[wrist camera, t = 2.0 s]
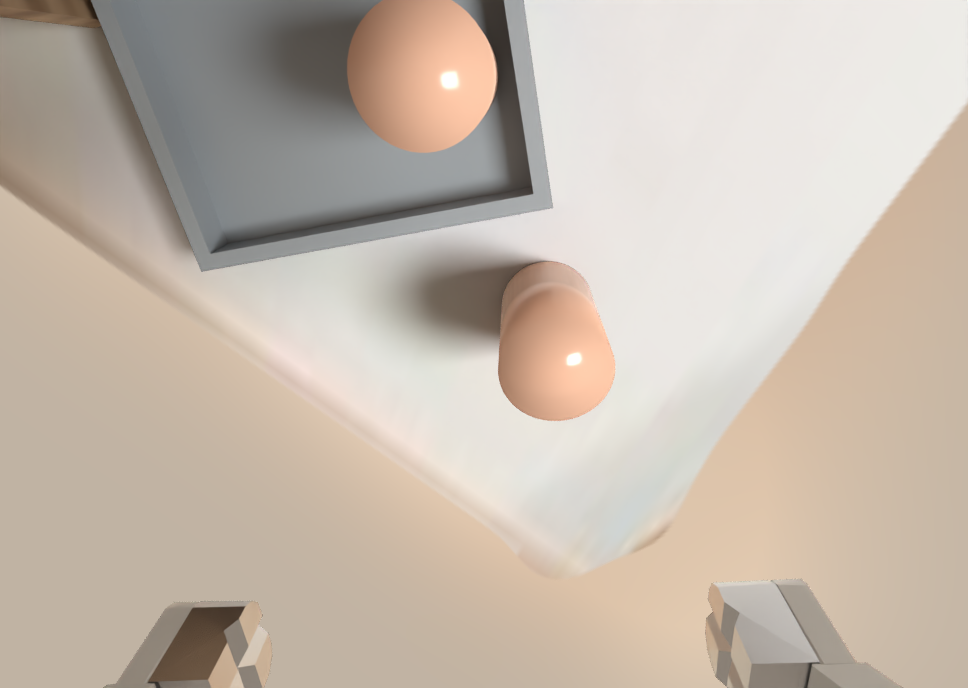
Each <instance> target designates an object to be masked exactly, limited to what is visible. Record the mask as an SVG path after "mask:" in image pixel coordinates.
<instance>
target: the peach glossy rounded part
mask: <svg viewBox="0 0 968 688" xmlns="http://www.w3.org/2000/svg"><path fill="white" fill-rule="evenodd" d="M347 76H348V84H349V89H350V93H351V96H352V99H353V102H354V104H355V106H356V108H357V110H358V112H359V114H360V115H361V117H362V119H363V120H364V121H365V123H366V124H367V125H368V126H369V128H370V129H371V130H372V131H373V132H374V133H375V134H377V135H378V136H379V137H380V138H382V139H383V140H384V141H386V142H388V143H389V144H391V145H393V146H395V147H397V148H400V149H403V150H406V151H410V152H417V153H430V152H437V151H441V150H444V149H447V148H449V147H452V146H454V145H455V144H457V143H459V142H460V141H462V140H463V139H464V138H466V137H467V136H468V135H469V134H470V133H471V132H472V131H473V130H474V129H475V128H476V126H477V125H478V124H479V123H480V121H481V120H482V119H483V117H484V116H485V115H486V114H487V112H488V111H489V109H490V108H491V106H492V104H493V102H494V99H495V97H496V94H497V90H498V84H499V68H498V62H497V58H496V55H495V52H494V50H493V48H492V46H491V44H490V42H489V41H488V39H487V38H486V36H485V35H484V33H483V32H482V30H481V29H480V27H479V26H478V24H477V23H476V21H475V20H474V19H473V18H472V17H471V16H470V14H469V13H468V12H467V11H465V10H464V9H463V8H462V7H461V6H460V5H458V4H457V3H455V2H454V1H452V0H382V1H381V2H379V3H378V4H376V5H375V6H374V7H373V8H372V9H371V10H370V11H369V12H368V13H367V14H366V15H365V16H364V18H363V19H362V20H361V22H360V24H359V25H358V27H357V29H356V31H355V33H354V35H353V38H352V40H351V44H350V47H349V52H348V59H347Z"/></svg>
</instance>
